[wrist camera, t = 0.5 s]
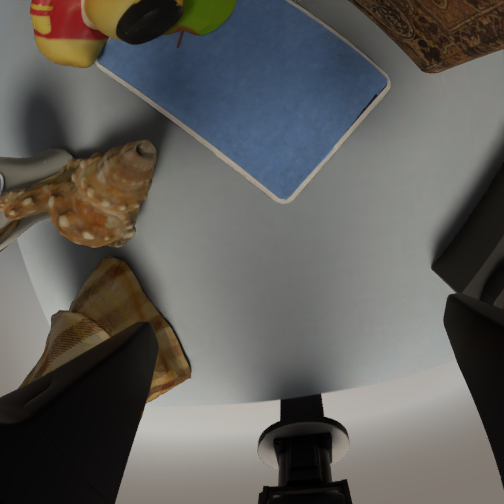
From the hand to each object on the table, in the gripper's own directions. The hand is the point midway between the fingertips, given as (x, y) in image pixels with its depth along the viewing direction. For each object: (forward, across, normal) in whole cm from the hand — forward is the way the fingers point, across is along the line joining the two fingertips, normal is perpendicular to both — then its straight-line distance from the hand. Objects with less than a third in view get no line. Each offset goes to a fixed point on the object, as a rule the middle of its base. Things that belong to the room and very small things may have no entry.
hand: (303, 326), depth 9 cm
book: (+16, -9, -17) cm, 25 cm away
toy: (+12, +13, -20) cm, 26 cm away
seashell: (+15, +13, -3) cm, 20 cm away
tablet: (+16, +2, -11) cm, 19 cm away
